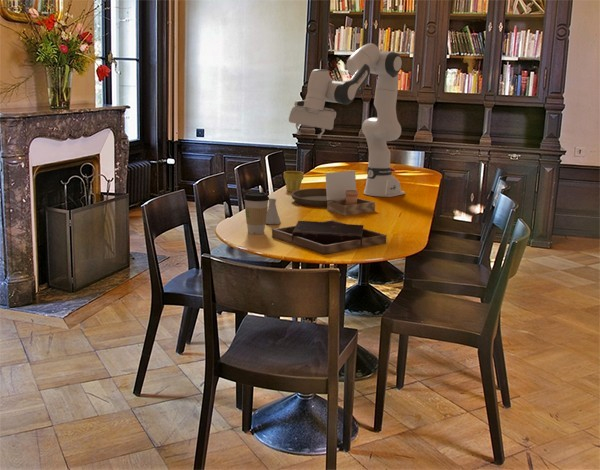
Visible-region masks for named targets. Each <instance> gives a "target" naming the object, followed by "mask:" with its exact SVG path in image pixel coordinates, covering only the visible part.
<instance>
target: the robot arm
mask: <svg viewBox="0 0 600 470" xmlns="http://www.w3.org/2000/svg"><path fill="white" fill-rule="evenodd" d="M402 66H403V59H402V57H401V55H400V54H399V53H397V52H395V51H394V52H393V51H387V50H386V51H383V50H380V48H379V47H378V46H377V44H375V43H372V42H371V43H370V42H368V43H366V44H364V45H362V46H360V47H359V48H358V49H357V50H355V51H353V53H351V55H350V56H349V57H348V58H347V60H346V68H347V71H348V73H349V74H350V76H352V77H351V78H350V79H349V80H344V81H343V80H341V81H340V80H334V79H333V78H332V77H331V75H330V71H329V70H328V69H318V68H316V69H315V68H314V69H313V70H312V71H311V73H310V76H309V79H308V84H307V92H306V93H307V94H306V95H305V99H302V100H296V101H294V106H292V108H291V110H290V113H289V117H288V122H289V123H292V124H295V128H296V135H299V136H300V135H301V133H302V132H301V130H299V127H300V125H302V126H307V127H313V128H319V129H320V130H321V132H320V133H318V134H317V139H320V140H321V138H322V136H323V134H324V133H325V130H329V131H331V130H333V129H334V124H335V119H336V117H337V111H336V110H334V108H328V107H325V104H326V102H328V103H337V104H341V105H345V106H346V105H350V104H351V103H352V102H353V101H354V100H355V98H356V95H357V93H358V92H359V90H360V89H361V88H362V87H363V85H364V84H365V82H366V81H367V80H368V78H369V76H370V75H371V74H373V75H377V76H378V77H377V80H376V86H375V91H374V92H375V93H374V99H373V107H375V109H376V113H377V114H376V116H377V117H376V116H373V117H369V118H366V119H365V120H364V121H363V123H362V124H361V132H362V133H363V135H364V136H365V139H366V143H367V147H368V149H367V150H368V162H367V163H368V165H367V168H366V173H367V176H366V181H365V188H364V189H363V194H364V195H366V196H372V197H385V198H391V197H393V198H394V197H396V196H400V195H405V193H406V192H405V191H404V190H402V189H401V185H402V184H401V182H400V181H399V180H398V178H396V177H395V176H394V175H393V173H396V168H395V167H391V157H392V156H391V154H392V153H391V150H390V149H389V148H388V145H387V142H391V141H395V140H398V139H399V138H400V136H401V135H402V125H401V123H400V122H399V119H398V115H397V100H398V92H399V73H400V71H401V70H402Z"/></svg>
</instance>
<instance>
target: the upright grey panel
mask: <svg viewBox="0 0 600 470" xmlns="http://www.w3.org/2000/svg"><path fill="white" fill-rule="evenodd" d="M356 176H357V175H356V170H347V171H345V170H344V171H335V172H325V188H326V192H327V200H333V199H341V198H346V195H345V191H346V190H356V191H357V182H356V181H357V179H356V178H357V177H356Z"/></svg>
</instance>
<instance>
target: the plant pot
mask: <svg viewBox="0 0 600 470" xmlns="http://www.w3.org/2000/svg"><path fill="white" fill-rule="evenodd" d="M283 180H284V182H285V188H286V192H291V193H292V192H293V191H296V190H301V186H302V182H303V180H304V172H303V171H299V170H286V171H284V172H283Z"/></svg>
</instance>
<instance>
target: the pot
mask: <svg viewBox="0 0 600 470" xmlns="http://www.w3.org/2000/svg"><path fill="white" fill-rule="evenodd" d="M345 195H346V206H347V205H354V204H357V198H358V196H359V191H358V190H357V189H356V190H346V191H345Z"/></svg>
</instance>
